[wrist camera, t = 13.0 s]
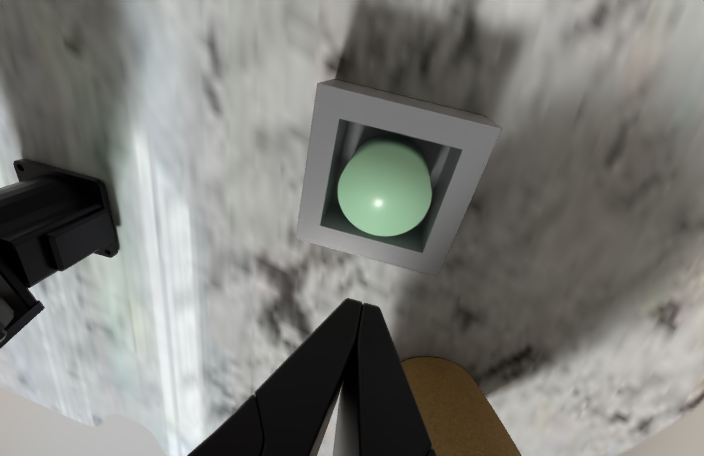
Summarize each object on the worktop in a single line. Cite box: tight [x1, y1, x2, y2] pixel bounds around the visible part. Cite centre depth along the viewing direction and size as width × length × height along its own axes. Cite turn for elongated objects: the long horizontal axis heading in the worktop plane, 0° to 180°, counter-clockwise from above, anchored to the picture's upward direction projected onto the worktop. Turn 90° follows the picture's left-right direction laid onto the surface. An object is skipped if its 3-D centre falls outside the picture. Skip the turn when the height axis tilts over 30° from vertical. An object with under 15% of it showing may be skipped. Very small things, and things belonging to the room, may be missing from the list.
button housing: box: [296, 79, 502, 277], centre depth 17 cm, size 8×8×4 cm
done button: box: [338, 134, 432, 236], centre depth 16 cm, size 4×4×3 cm
